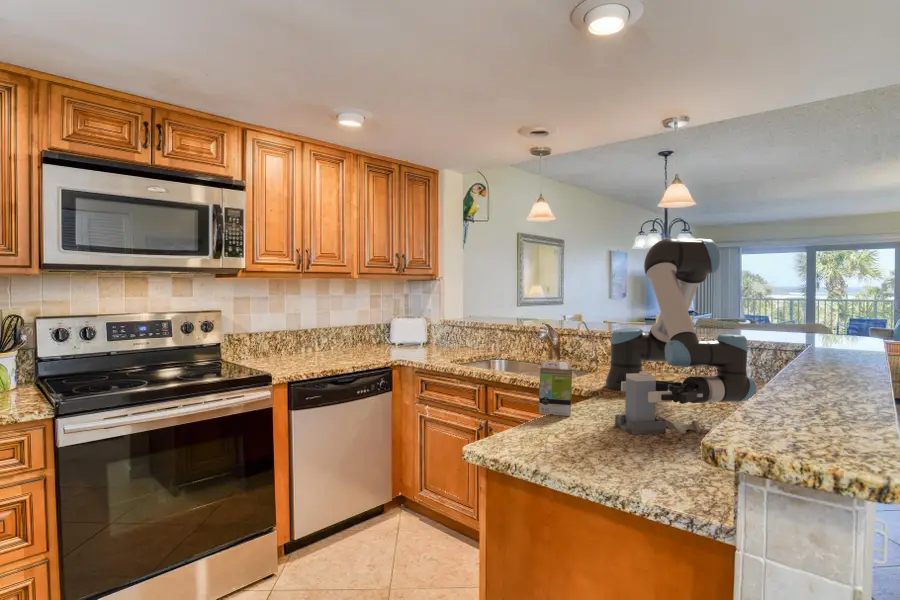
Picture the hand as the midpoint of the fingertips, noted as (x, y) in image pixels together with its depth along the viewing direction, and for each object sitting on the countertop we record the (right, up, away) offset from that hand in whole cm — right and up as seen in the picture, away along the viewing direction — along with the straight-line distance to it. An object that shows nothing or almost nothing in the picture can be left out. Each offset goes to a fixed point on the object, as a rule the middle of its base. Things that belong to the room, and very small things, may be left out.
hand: (634, 391), depth 136 cm
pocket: (+2, -11, +1) cm, 11 cm away
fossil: (+13, -11, +1) cm, 17 cm away
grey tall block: (+2, -10, +1) cm, 10 cm away
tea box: (-18, -10, +21) cm, 29 cm away
